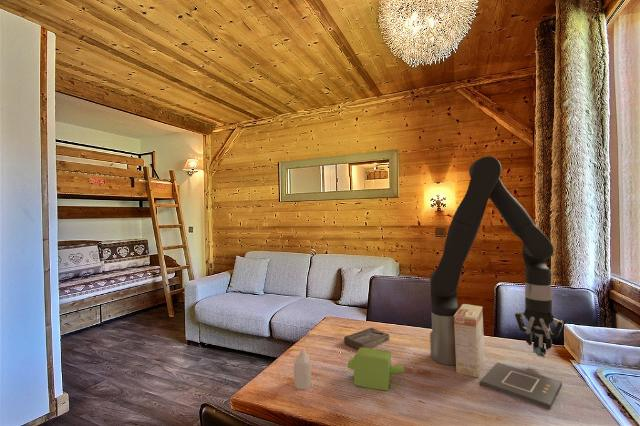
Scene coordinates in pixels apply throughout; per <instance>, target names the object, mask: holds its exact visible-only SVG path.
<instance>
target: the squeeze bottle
mask: <svg viewBox="0 0 640 426" xmlns="http://www.w3.org/2000/svg"><path fill="white" fill-rule="evenodd" d="M293 378H294V381H293V382H294V383H293V384H294V387H295V388H296V389H297V390H302V391H303V390H307V389H309V388H310V387H311V385H312V362H311V360H310V357H309V356H308V355H307V352H306V349H305V348H304V347H303V348H302V349H301V350H300V352H299V353H298V355H297V357H296V359H295V360H294V363H293Z"/></svg>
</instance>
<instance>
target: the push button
mask: <svg viewBox="0 0 640 426" xmlns="http://www.w3.org/2000/svg"><path fill="white" fill-rule="evenodd" d="M531 333H532V334H534V335H535V338H534V341H532V353H533V354H536V356H538V357H541V358H543V359H544V358H546V354H547V349H546V347H545V343H544V336H546V335H545V332H544V330H543V328H541V327H539V326H533V327H532V328H531Z"/></svg>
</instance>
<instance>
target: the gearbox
mask: <svg viewBox="0 0 640 426" xmlns="http://www.w3.org/2000/svg"><path fill="white" fill-rule="evenodd" d="M391 357H392V356H391V351H390V350H384V349H377V348H359V350H358V349H357V351H356V352H355V354H354V356H351V357H350V359H349V360H348V362H347V368H348V369H350V370H352V371H353V376H354V377H353V378H354V381H353V385H355V386H358V387H363V388H369V389H374V390H379V391H381V390H382V391H389V389H390V384H391V377H392V375H397V374H403V373H405V367H404V366H403V365H395V366H392V360H391Z"/></svg>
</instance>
